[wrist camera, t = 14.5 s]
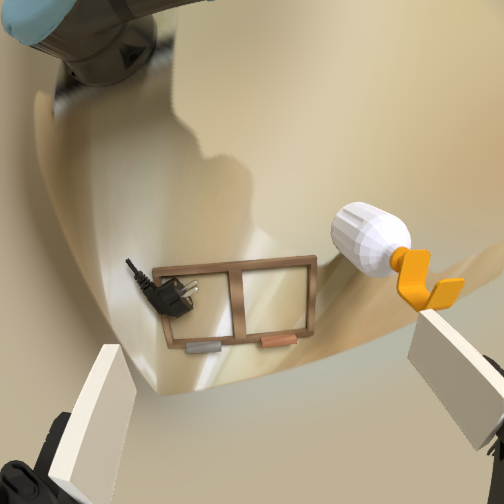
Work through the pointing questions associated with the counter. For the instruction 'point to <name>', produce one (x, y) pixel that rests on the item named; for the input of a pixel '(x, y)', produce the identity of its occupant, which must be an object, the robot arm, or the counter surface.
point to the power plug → (166, 294)
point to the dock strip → (241, 304)
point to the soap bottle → (390, 255)
